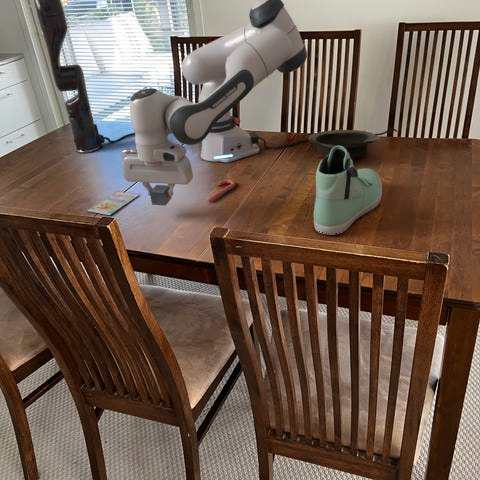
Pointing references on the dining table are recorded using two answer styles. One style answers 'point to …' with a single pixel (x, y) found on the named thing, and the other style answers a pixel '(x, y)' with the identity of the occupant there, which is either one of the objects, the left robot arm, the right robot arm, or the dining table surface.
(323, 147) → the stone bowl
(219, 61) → the right robot arm
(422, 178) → the dining table surface
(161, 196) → the block
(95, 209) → the baking ingredient package
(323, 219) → the sneaker
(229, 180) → the candy cane
